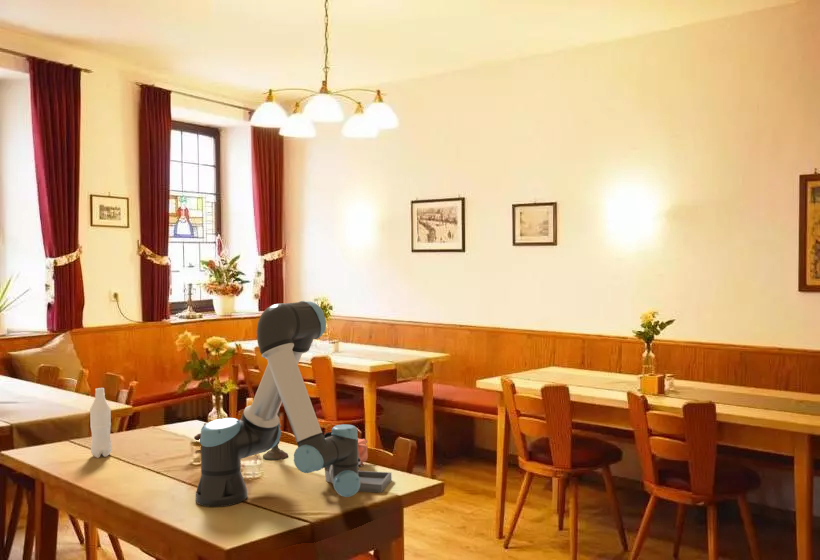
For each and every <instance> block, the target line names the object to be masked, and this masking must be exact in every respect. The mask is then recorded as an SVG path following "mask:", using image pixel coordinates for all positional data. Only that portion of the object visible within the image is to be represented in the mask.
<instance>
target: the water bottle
mask: <svg viewBox="0 0 820 560" xmlns="http://www.w3.org/2000/svg"><path fill="white" fill-rule="evenodd" d="M105 395H106V393H105V388H104V387H97V388H95V393H94V396H95V398H94V400H93V402H92V404H91V407H90V409H89V417H90V418H89V419H90V421H89V422H90V432H91V442H90V453H91V454H92V456H93V457H95V458H99V459H100V457H101V455H102V456H103V458H106V457H108V456H109V455H110V454H111V452H112V449H113V446H112V445H113V444H112V440H111V427H112V420H111V419H112V418H111V417H112V415H111V413H112V412H111V411H112V410H111V409H112V408H111V406H110V404H109V403H108V400H107V399H106V396H105Z"/></svg>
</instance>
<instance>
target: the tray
mask: <svg viewBox="0 0 820 560" xmlns="http://www.w3.org/2000/svg"><path fill="white" fill-rule="evenodd" d="M358 475H359V478H360V488H359V490H358V492H366V493H381V494H382V493H383V492H384V491H385V489H386V488H387V487H388V485H389V484H390V483H391V481H392V472H391V471H390V472H389V471H388V472H387V471H371V470H370V471H369V470H358Z"/></svg>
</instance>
